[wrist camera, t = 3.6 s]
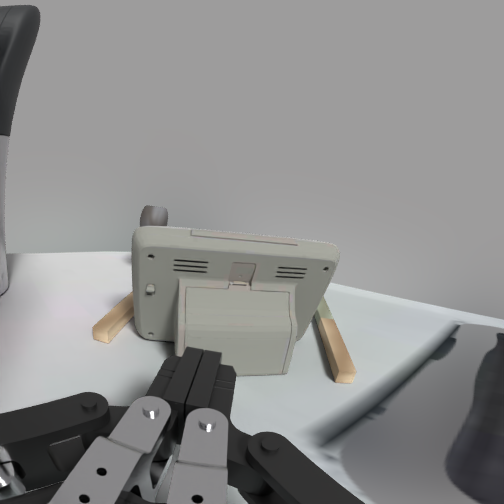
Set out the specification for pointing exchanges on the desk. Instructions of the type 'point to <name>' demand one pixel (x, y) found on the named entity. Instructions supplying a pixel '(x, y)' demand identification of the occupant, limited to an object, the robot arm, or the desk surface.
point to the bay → (326, 324)
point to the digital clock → (229, 292)
